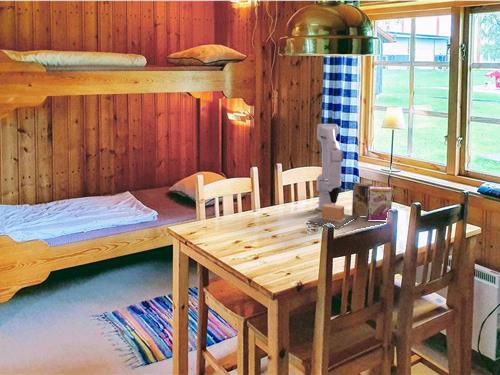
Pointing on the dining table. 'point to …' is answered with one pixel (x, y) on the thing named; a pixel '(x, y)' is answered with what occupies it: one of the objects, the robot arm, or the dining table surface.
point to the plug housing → (332, 212)
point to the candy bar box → (379, 202)
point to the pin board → (336, 223)
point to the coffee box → (360, 199)
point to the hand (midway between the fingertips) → (333, 202)
